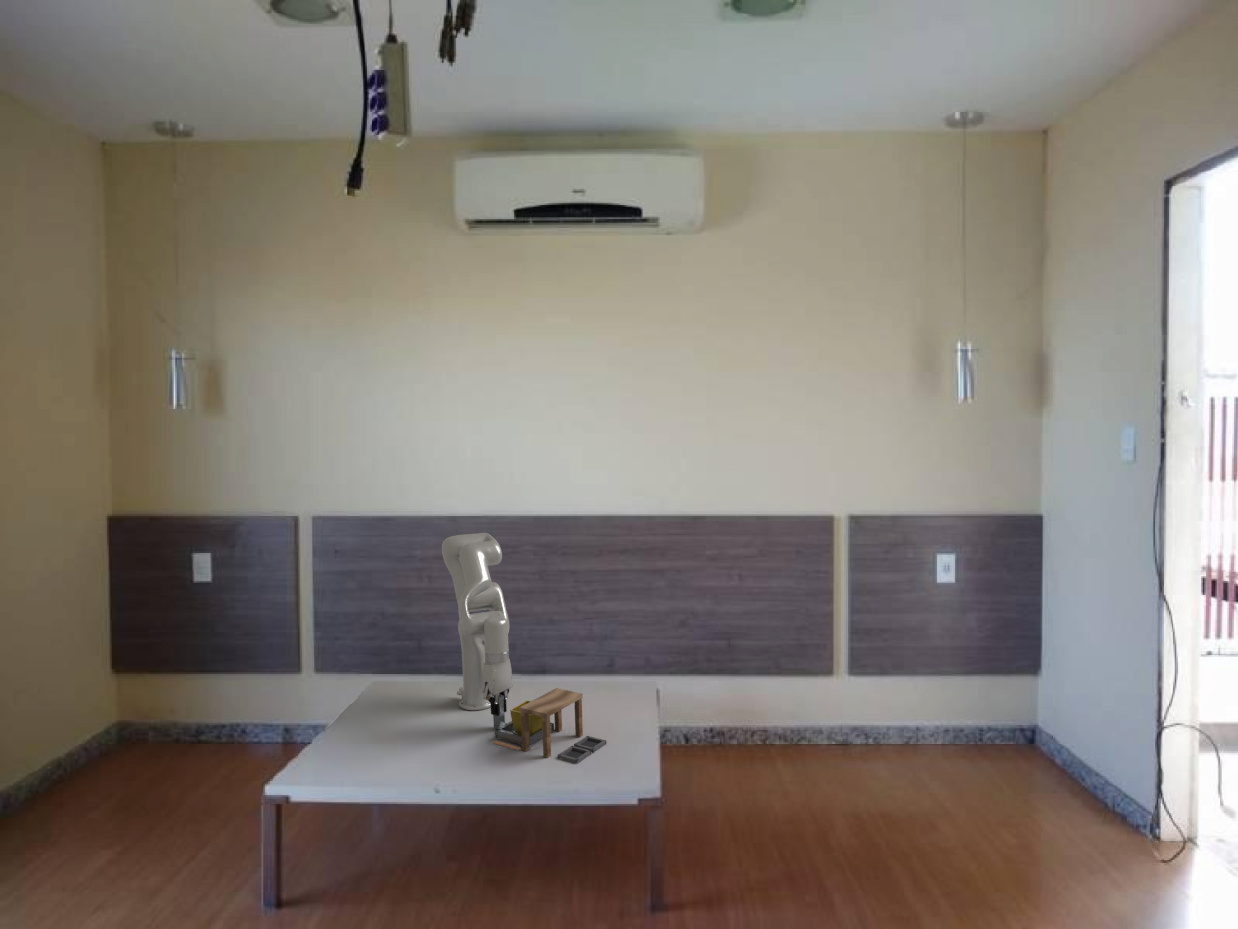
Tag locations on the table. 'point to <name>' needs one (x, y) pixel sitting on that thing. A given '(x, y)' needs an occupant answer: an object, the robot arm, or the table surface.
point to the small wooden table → (545, 709)
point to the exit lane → (508, 744)
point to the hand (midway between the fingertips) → (498, 712)
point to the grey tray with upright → (505, 729)
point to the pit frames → (582, 749)
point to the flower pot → (534, 720)
